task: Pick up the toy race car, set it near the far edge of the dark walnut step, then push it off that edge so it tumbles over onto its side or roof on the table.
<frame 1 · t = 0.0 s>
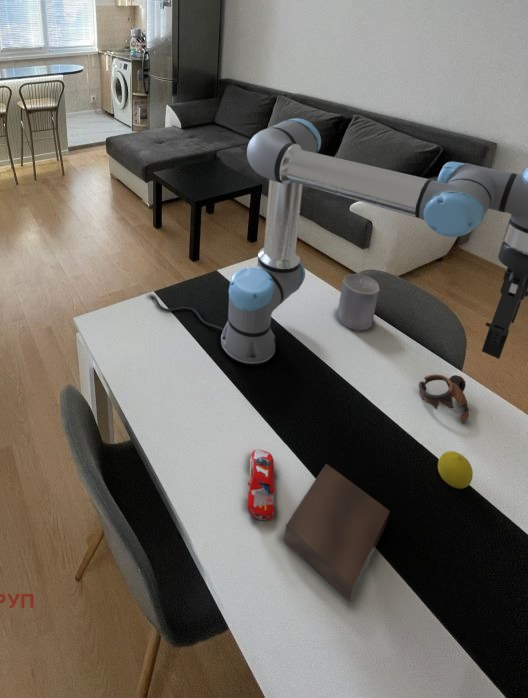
hand: (498, 336, 87), 28 cm above the table, tool pointing down, fingers open, 13 cm apart
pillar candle: (354, 320, 132), on the table
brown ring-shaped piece: (444, 404, 104), on the table
race car: (260, 488, 89), on the table
lemon: (450, 483, 88), on the table
walnut step: (334, 534, 81), on the table
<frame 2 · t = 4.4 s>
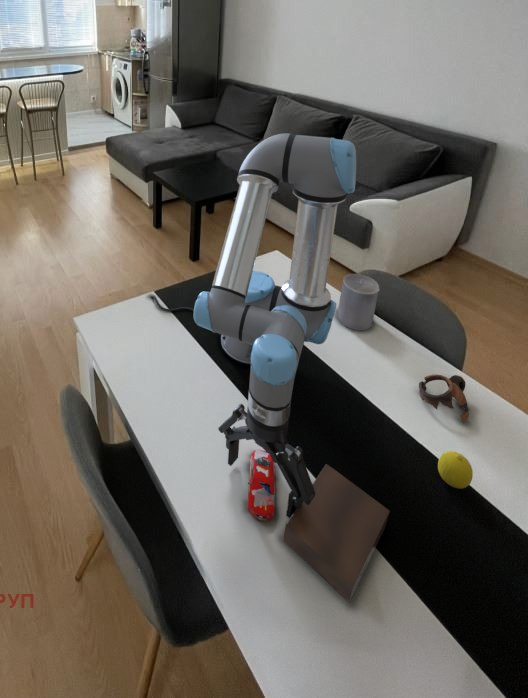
hand: (260, 485, 88), 1 cm above the table, tool pointing down, fingers open, 13 cm apart
nothing on the table moved.
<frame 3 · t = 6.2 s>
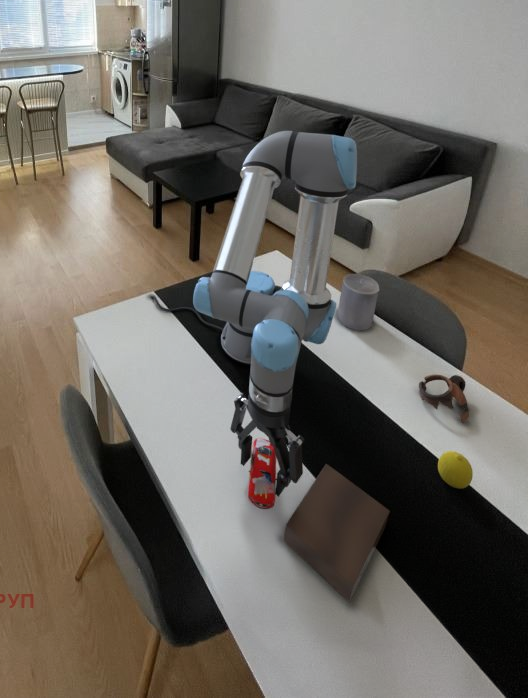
hand: (262, 474, 88), 4 cm above the table, tool pointing down, fingers closed on race car, 7 cm apart
race car: (262, 477, 88), point 3 cm above the table, touching gripper
everything else where it was.
when the fingers open (5 cm above the table, at t = 10.2 s): race car stays where it is, resting on walnut step.
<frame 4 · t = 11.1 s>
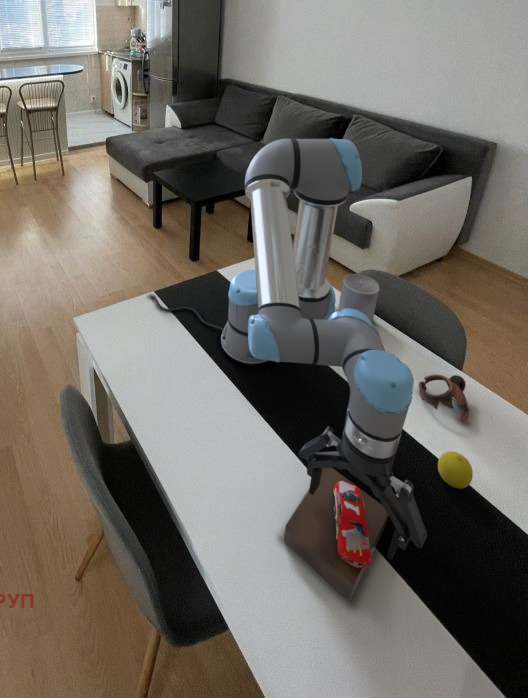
hand: (350, 518, 77), 7 cm above the table, tool pointing down, fingers open, 13 cm apart
race car: (349, 527, 77), point 5 cm above the table, touching walnut step
everything else where it was.
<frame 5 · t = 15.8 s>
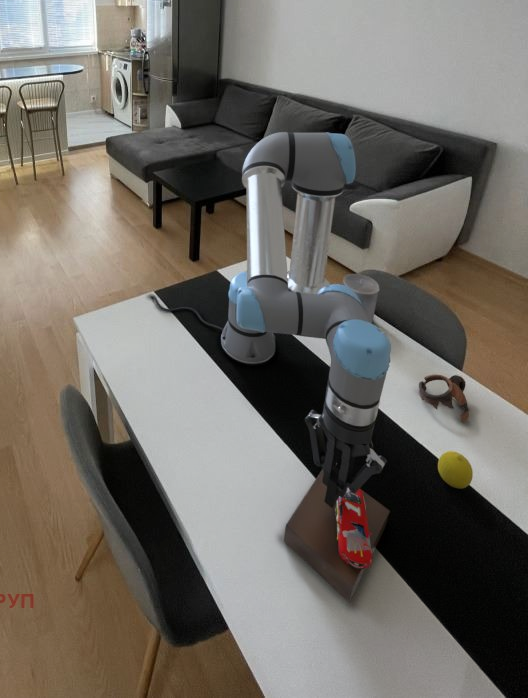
hand: (331, 499, 78), 9 cm above the table, tool pointing down, fingers closed
race car: (350, 528, 77), point 5 cm above the table, touching gripper
everything else where it was.
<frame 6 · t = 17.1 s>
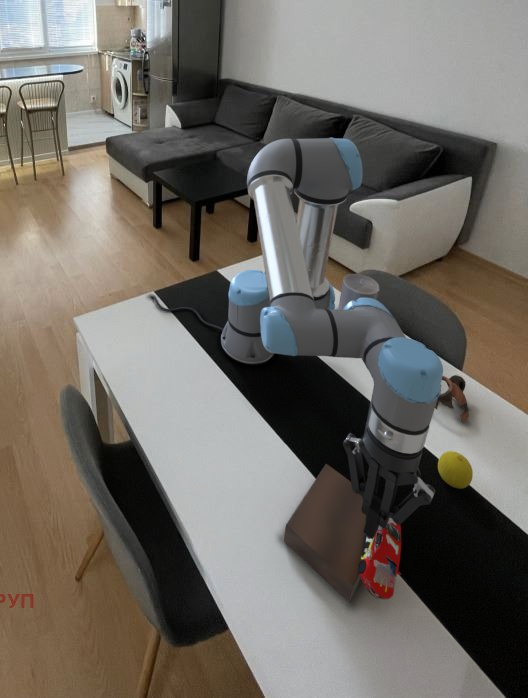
hand: (371, 529, 73), 9 cm above the table, tool pointing down, fingers closed
race car: (373, 550, 74), point 5 cm above the table, touching gripper, walnut step
everything else where it was.
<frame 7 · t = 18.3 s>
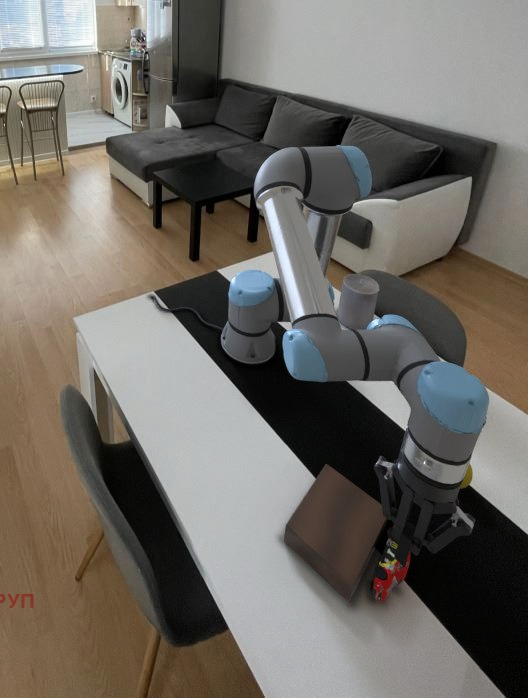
hand: (401, 555, 70), 8 cm above the table, tool pointing down, fingers closed
race car: (378, 554, 75), point 3 cm above the table
everything else where it was.
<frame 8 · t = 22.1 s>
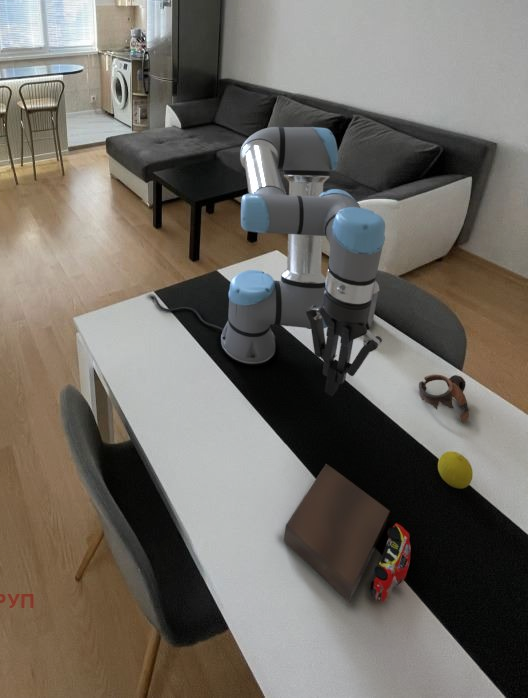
hand: (331, 389, 84), 22 cm above the table, tool pointing down, fingers closed
nothing on the table moved.
at the end: race car tilted 88°; race car inside the target area (6.1 cm from its centre), point 2.6 cm above the table; the gripper is holding nothing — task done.
